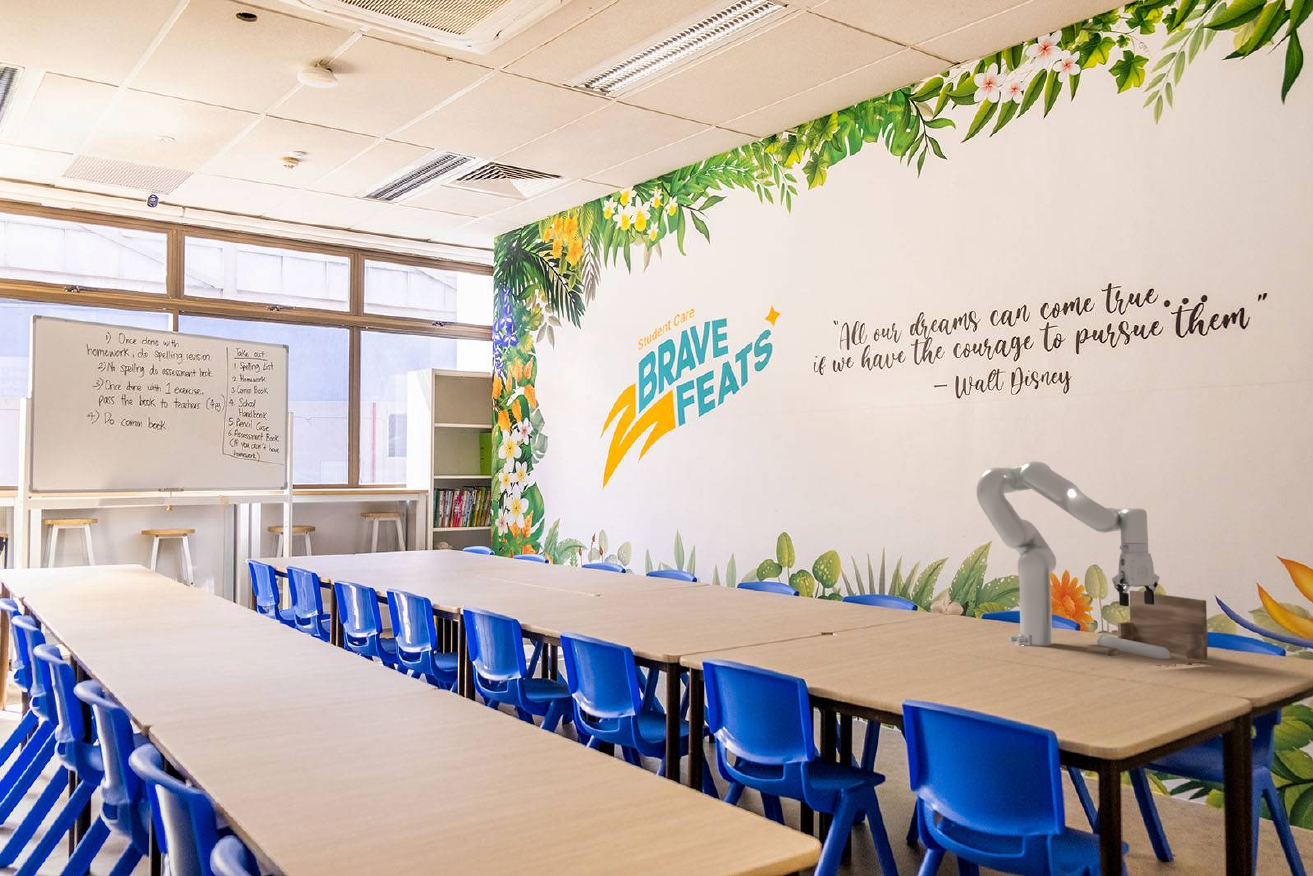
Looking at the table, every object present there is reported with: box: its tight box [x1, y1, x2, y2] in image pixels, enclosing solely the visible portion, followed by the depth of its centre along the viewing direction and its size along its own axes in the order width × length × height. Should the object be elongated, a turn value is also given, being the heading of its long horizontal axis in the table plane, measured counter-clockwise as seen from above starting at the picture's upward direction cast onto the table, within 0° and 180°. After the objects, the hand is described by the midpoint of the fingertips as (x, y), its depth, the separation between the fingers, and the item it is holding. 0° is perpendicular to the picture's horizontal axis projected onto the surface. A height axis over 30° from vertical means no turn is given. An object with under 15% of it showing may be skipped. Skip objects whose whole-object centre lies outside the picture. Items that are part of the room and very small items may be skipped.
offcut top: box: [1087, 644, 1120, 657], centre depth 304 cm, size 4×8×2 cm, turn 22°
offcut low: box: [1088, 652, 1124, 658], centre depth 303 cm, size 5×10×2 cm, turn 21°
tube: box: [1096, 634, 1172, 660], centre depth 307 cm, size 5×5×25 cm
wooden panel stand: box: [1117, 590, 1208, 661], centre depth 310 cm, size 6×28×18 cm, turn 19°
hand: (1136, 605), depth 307 cm, fingers open, 9 cm apart
